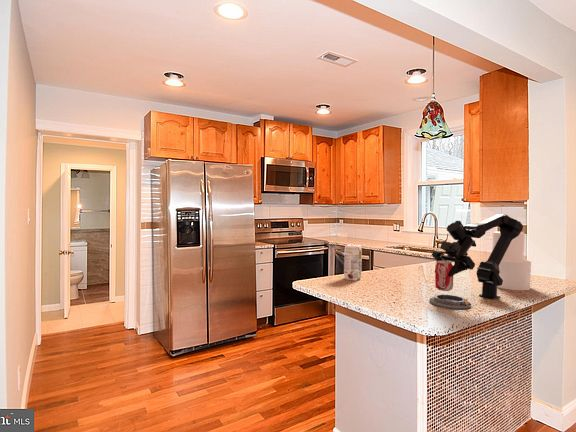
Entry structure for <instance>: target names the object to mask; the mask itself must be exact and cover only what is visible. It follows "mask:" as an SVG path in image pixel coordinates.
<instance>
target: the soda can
mask: <svg viewBox="0 0 576 432" xmlns="http://www.w3.org/2000/svg"><path fill="white" fill-rule="evenodd" d="M436 263H437V264H436ZM436 263H435V268H434V274H435V275H434V281H435V282H434V284H435V286H434V287H435V288H436V290H437V291H442V292H450V291H452V290H453V289H454V287H453V286H454V275H453V276H451V277H449V276H448V274H449V272H450V270H451V269H452V267H453V266H454V265H453V264H452V263H453V262H451V261H436Z"/></svg>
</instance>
